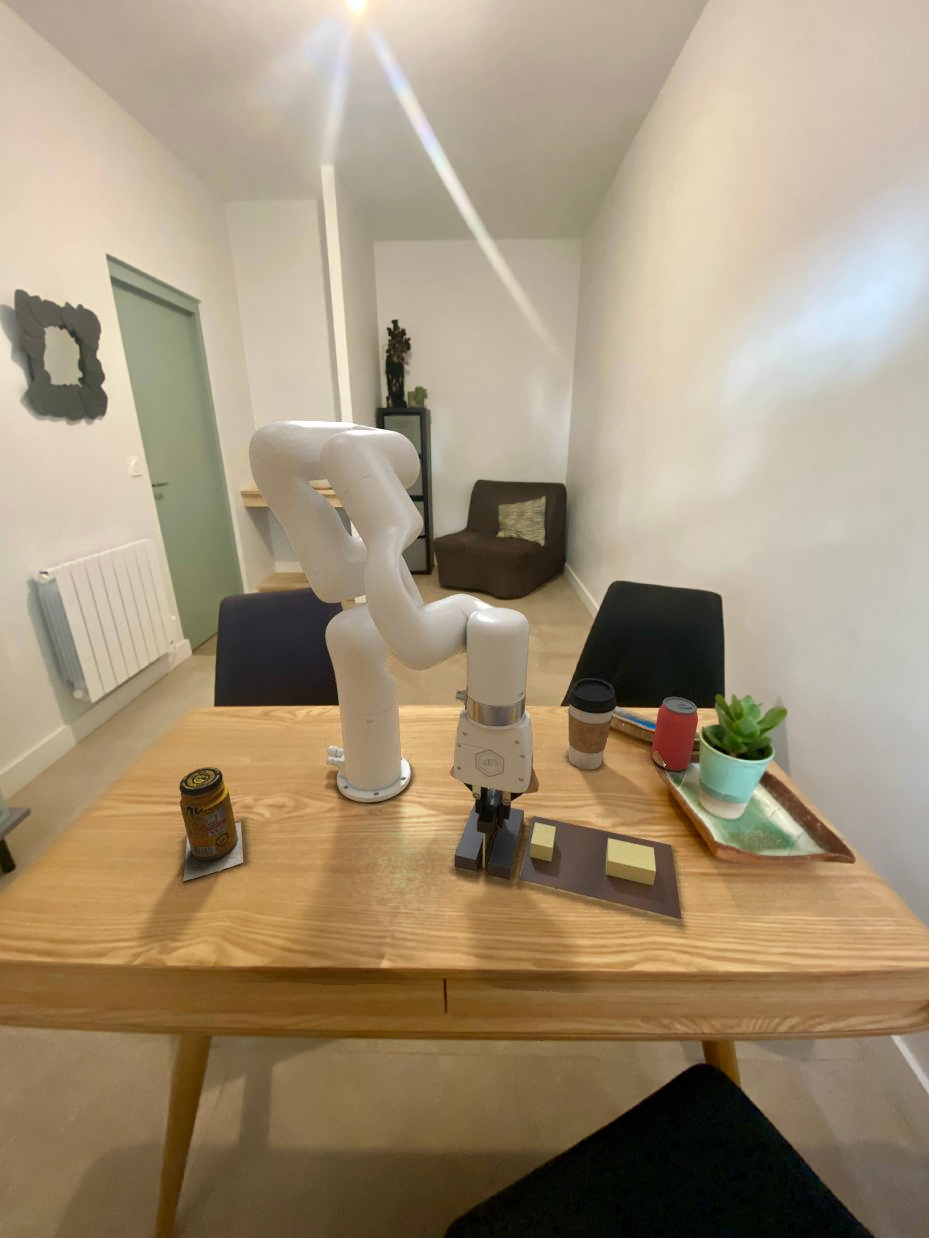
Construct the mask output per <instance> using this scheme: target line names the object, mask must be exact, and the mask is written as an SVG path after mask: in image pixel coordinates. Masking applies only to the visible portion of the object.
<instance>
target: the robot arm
mask: <svg viewBox="0 0 929 1238" xmlns="http://www.w3.org/2000/svg"><path fill="white" fill-rule="evenodd" d="M248 459H249V466H250V472H251V475H252V478H253V481H254V483H255V487H256V488H257V490H258V492H259V495H260V496H261V497H262V499H263V500H264V501H263V502H264V503H265V504H266V505H267V507H268V508H269V509H270V511H271V512H272V513H273V515H274V516H275V517H276V519H277V521H279V523H280V525H281V527H282V528H283V530H284V532H285V534H286V536H287V539H288V541H289V543H290V545H291V548H292V549H293V552H294V555H295V556H296V559H297V560H298V563H299V565H300V568H301V569H302V572H303V574H304V576H305V578H306V580H307V582H308V584H309V586H310V588H311V589H312V592H313V593H314V594H315V596H316V597H317V599H318V600H320V601H322V602H323V603H326V604H336V603H337V604H338V603H342V602H346V601H350V600H353V599H356V598H360V597H363V596H365V602H363V603H360V604H357V605H354V606H351V607H349V608H346V609H344V610H342V611H340V612H338V613H337V614H336V615H334V616H333V617H332V618H331V619H330V620H329V622H328V624H327V626H326V628H325V635H324V637H325V644H326V648H327V651H328V654H329V657H330V661H331V665H332V668H333V671H334V676H335V677H334V678H335V682H336V689H337V699H338V700H337V701H338V706H339V716H340V717H339V719H340V727H341V728H340V729H341V738H342V747H341V746H336V745H329V746H328V748H327V750H326V755H327V756H328V757H327V758H326V760H325V761H326V762H325V764H326V765H329V766H335V767H337V768H338V769H339V770H338V772H337V775H336V783H337V788H338V790H339V792H340V793H341V794H342V795H343V796H344V797H346V798H348V799H350V800H351V801H354V802H360V803H377V802H382V801H386V800H388V799H392V798H393V797H395V796H397V795H398V794H400V793H401V792H402V791H403V790H404V789H406V787H407V786H408V784H409V783H410V780H411V776H412V773H411V766H410V763H409V762H408V760H407V759H405V757H403V756H402V750H401V749H402V746H401V745H402V744H401V727H400V725H401V724H400V706H399V705H400V704H399V690H398V683H397V681H396V678H395V677H394V675H393V674H392V673H391V672H390V671H389V669H387V667H386V662H387V661H388V660H389V659H391V658H396V659H397V661H398V662H400V663H401V664H402V665H403V666H404V667H406V668H408V669H410V670H413V671H419V672H420V671H427V670H431V669H433V668H435V667H437V666H439V665H441V664H443V663H445V662H447V661H448V660H450V659H452V658H454V657H456V656H458V655H461V654H466V688H465V689H463V690H459V689H458V690H457V691H456V693H455V701H459V702H461V703H463V705H464V707H463V708H462V709H461V711H460V713H459V716H458V722H457V727H456V734H455V743H454V753H453V754H454V755H453V765H452V767H451V769H450V771H449V775H450V776H451V777H453V778H454V779H455V780H457V781H459V782H461V783H463V785H464V786H465V787H466V788H467V789H468V790H469V791H470V792H471V793H472V794H471V796H472V798H473V799H474V801H475V802H474V804H475V813H479V814H480V811H481V809H482V806H483V803H484V801H485V798H486V796H487V793H488V790H489V788H491V789H496V790H502V793H501V796H500V800H499V803H498V816H497V828H502V827H503V824H504V820H505V819H507V820H509V817H510V811H511V808H512V802H513V801H515V800H517V798H519V797H521V796H523V795H524V794H525V795H529V794H535V793H537V792H538V791H539V787H540V782H539V779H538V777H537V774H536V772H535V770H534V767H533V766H534V740H533V728H532V727H533V726H532V720H531V717H530V713H529V711H528V710H526V701H527V700H526V698H527V681H528V680H527V678H528V659H529V642H530V641H529V640H530V624H529V621H528V619H527V617H526V616H525V615H524V614H523V613H522V612H520V611H518V610H515V609H512V608H508V607H496V606H494V605H492V604H489V603H487V602H485V601H483V600H481V599H480V598H477V597H476V596H472V595H470V594H466V593H456V594H453V595H450V596H449V595H448V596H447V597H443V598H442V599H436V600H435V601H432V602H430V603H429V602H428V603H426V604H425V602H424V599H423V598H422V595H421V592H420V591H419V589H418V586H417V584H416V581H415V580H414V578H413V576H412V573H411V571H410V569H409V567H408V565H407V563H406V560H405V558H404V557H403V552H404V551H405V550H406V549H407V548H408V547H410V545H412V544H413V543H414V542H415V540H417V538H418V537H419V536H420V534H421V533H422V531H423V529H424V519H423V516H422V514H421V512H420V511H419V510H418V508H417V507H416V505H415V503H414V502H413V500H412V499H411V497H410V495H409V493H408V492H407V489H409V488H411V487H412V486H414V484H415V483H416V482H417V480H418V479H419V475H420V472H421V471H420V470H421V462H420V457H419V454H418V452H417V449H416V447H415V445H414V444H413V443H412V441H411V440H410V439H409V438H408V437H407V436H405V435H404V434H402V433H400V432H399V431H395V430H387V429H383V428H382V429H381V428H376V427H371V426H367V425H361V424H357V423H351V422H340V421H315V420H292V419H291V420H278V421H272V422H269V423H266V424H263V425H262V426H260V427H259V428H258V429H256V430H255V431H254V433H253V435H252V436H251V438H250V441H249V447H248ZM325 480H326V481H327V482H328V483H329V485H330V487H331V490H332V491H333V492H334V494H335V496H336V498H337V499H338V501H339V503H340V505H341V506H342V508H343V510H344V512H345V513H346V515H347V517H348V518H349V521H350V522H351V524H352V525H353V528H354V529H355V530H356V533H357V534H358V536H357V535H356V536H352V535H351V534H349V532H348V531H347V529H346V528H345V526H344V524H343V522H342V519H341V516H340V515H339V512H338V511H337V509H336V508H335V506H334V505H333V504H332V503H331V502H330V501H329V500H328V499H327V498H326V497H325V496H324V495H323V494H322V493H320V492H319V491H317V490H316V489H315V488H314V487H312V486H311V485H310V483H309V481H310V482H311V481H325Z"/></svg>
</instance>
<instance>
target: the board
mask: <svg viewBox="0 0 929 1238" xmlns="http://www.w3.org/2000/svg"><path fill="white" fill-rule="evenodd" d="M535 822H536V823H540V824H545V825H549V826H554V827H556V831H555V841H554V848H553V854H552V861H551V862H550V861H546V860H542V859H538V858H533V857H530V847H531V839H532V835H533V830H534V825H535ZM608 838H610V839H615V840H619V841H624V842H628V843H633V844H638V845H642V846H647V847H652V848H654V856H655V867H656V874H655V879H654V884H653V885H649V884H644V883H640V882H636V881H632V880H627V879H623V878H619V877H615V876H610V875H606V849H607V842H608ZM520 869H521V870H520V873H519V880H520V881H525V882H527V883H528V882H529V883H532V884H536V885H541V886H545V887H549V888H554V889H556V890H561V891H565V892H570V893H573V894H577V895H581V896H585V897H589V898H594V899H597V900H602V901H605V902H609V903H613V904H618V905H622V906H625V907H629V908H634V909H638V910H641V911H646V912H649V913H654V914H657V915H662V916H665V917H666V916H667V917H670V918H675V919H678V920H682V912H681V904H680V897H679V891H678V883H677V877H676V870H675V862H674V855H673V848H672V844H669V843H663V842H659V841H655V840H649V839H646V838H641V837H635V836H631V835H626V834H623V833H622V834H621V833H616V832H612V831H607V830H604V829H603V830H602V829H599V828H598V829H597V828H593V827H589V826H584V825H578V824H573V823H570V822H566V821H560V820H556V819H550V818H546V817H541V816H536V815H533V816H532V818H531V822H530V829H529V832H528V837H527V841H526V847H525V851H524V855H523V860H522V864H521V868H520Z"/></svg>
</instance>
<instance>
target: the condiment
mask: <svg viewBox="0 0 929 1238" xmlns="http://www.w3.org/2000/svg"><path fill="white" fill-rule="evenodd" d="M178 790H179V792H180V797H181V798H180V801H179V807H180V811H181V815H182V819H183V822H184V827H185V831H186V835H187V837H186V845H185V857H184V867H183V868H184V869H183V880H182V881H183V882H184V881H188V880H193V879H196V878H201V877H204V876H207V875H210V874H213V873H216V872H221V871H222V870H225V869H228V868H232V867H235V866H238V865H240V864H243V863H244V853H243V834H242V822H241V821H238V822H236V821H235V815H234V810H233V809H234V808H233V805H232V801H231V796H230V790H229V787H228V785H226V783H225V780H224V776H223V772H222V771H221V770H220V769H218V767H211V766H210V767H209V766H208V767H206V766H205V767H201V768H196V769H195V770H193V771H191V772H188V773H187V774H186V775H185V776H183V778H181V780H180V781H179V786H178Z"/></svg>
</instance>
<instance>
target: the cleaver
mask: <svg viewBox="0 0 929 1238" xmlns="http://www.w3.org/2000/svg"><path fill="white" fill-rule="evenodd" d="M488 789H489V790H488V793H487V796H486V798H485V801H484V803H483V806H482V809H481V811H480V814H479V817H478V820H477V832H481V833H483V851H482V869H485V868H486V865H487V864H488V860H489V857H490V854H491V850H492V847H493V844H494V841H495V837H496V834H497V831H498V826H497V816H498V803H499V800H500V796H501V793H502V790H496V789H491V788H488Z"/></svg>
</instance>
